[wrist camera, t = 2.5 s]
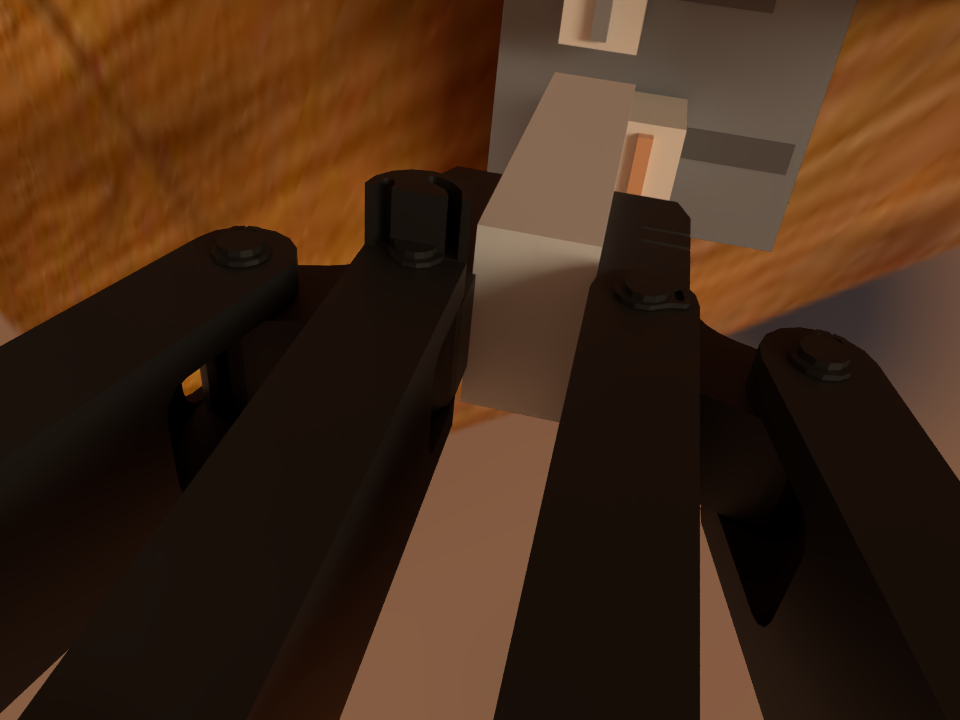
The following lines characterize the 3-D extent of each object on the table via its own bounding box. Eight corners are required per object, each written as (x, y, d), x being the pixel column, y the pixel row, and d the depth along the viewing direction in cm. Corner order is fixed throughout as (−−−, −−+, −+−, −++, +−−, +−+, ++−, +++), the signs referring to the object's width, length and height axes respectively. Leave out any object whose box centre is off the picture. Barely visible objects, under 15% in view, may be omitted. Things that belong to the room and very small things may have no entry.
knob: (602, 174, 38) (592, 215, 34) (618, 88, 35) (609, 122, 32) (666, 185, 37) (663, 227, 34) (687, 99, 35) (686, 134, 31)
